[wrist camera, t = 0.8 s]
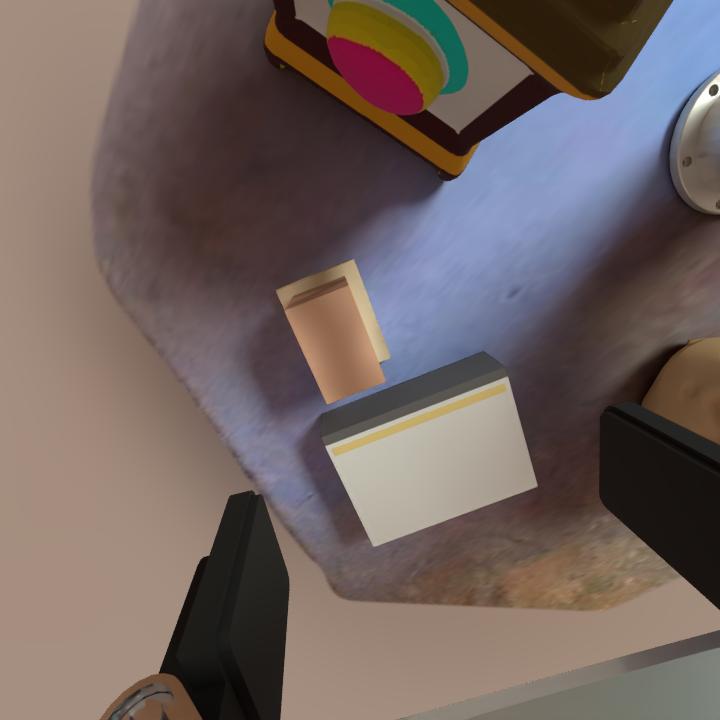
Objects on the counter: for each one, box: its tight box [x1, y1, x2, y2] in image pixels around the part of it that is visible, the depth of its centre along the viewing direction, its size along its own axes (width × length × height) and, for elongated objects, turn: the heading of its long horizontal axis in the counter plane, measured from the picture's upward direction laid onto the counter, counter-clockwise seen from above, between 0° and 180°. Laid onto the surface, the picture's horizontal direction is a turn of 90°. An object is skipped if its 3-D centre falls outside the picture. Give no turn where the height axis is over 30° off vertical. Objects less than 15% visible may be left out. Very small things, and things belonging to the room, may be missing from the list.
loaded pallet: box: [276, 259, 391, 404], centre depth 33 cm, size 8×10×9 cm
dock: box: [321, 351, 538, 547], centre depth 39 cm, size 18×14×5 cm
